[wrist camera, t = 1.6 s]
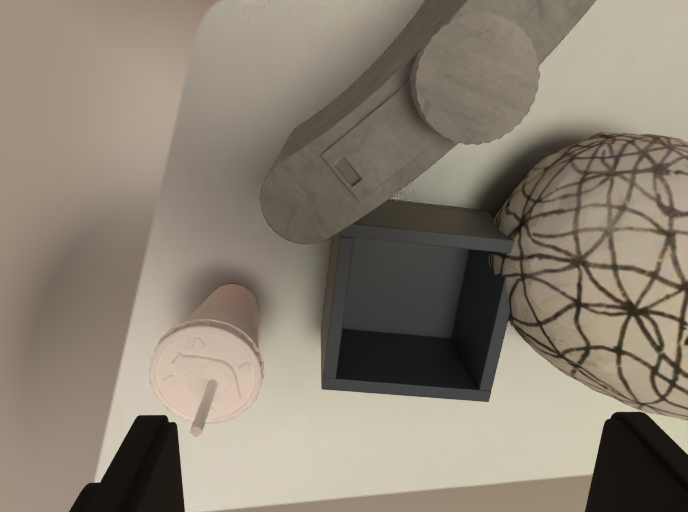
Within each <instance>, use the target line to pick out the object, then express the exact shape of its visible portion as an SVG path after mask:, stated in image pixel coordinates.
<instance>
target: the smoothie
mask: <svg viewBox="0 0 688 512" xmlns="http://www.w3.org/2000/svg"><path fill="white" fill-rule="evenodd" d="M263 377H264V362H263V359H262V356H261V353H260V350H259V342H258V304H257V300H256V298H255V296H254V295H253V294H252V292H250V291H249V290H248V289H247V288H245V287H243V286H240V285H236V284H227V285H223V286H221V287H219V288H217V289H216V290H215V291H214V292H213V293H212V294H211V295H210V296H209V297H208V298H207V299H206V300H205V301H204V302H203V303H202V304H201V305H200V306H199V307H198V308H197V309H196V310H195V311H194V313H193V314H192V315H191V316H190V317H189V318H188V319H187V320H186V321H185V322H183V323H181V324H179V325H178V326H176V327H174V328H172V329H170V330H169V331H168V332H167V333H166V334H165V335H164V336H163V337H162V338H161V339H160V341H159V343H158V345H157V347H156V348H155V350H154V353H153V355H152V358H151V361H150V366H149V379H150V384H151V387H152V389H153V392H154V394H155V395H156V397H157V398H158V400H159V401H160V402H161V403H162V405H163V406H165V407H166V408H167V409H168V410H169V411H170V412H172V413H173V414H175V415H177V416H179V417H181V418H183V419H186V420H188V421H192V422H193V425H192V427H191V430H190V433H191V435H193V436H195V437H198V436H200V435H201V434H202V431H203V428H204V425H205V424H212V423H220V422H224V421H228V420H231V419H233V418H235V417H237V416H239V415H241V414H242V413H243V412H245V411H246V410H247V409H248V408H249V407H250V406H251V405H252V404H253V402H254V401H255V399H256V398H257V396H258V393H259V391H260V387H261V384H262V380H263Z"/></svg>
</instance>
